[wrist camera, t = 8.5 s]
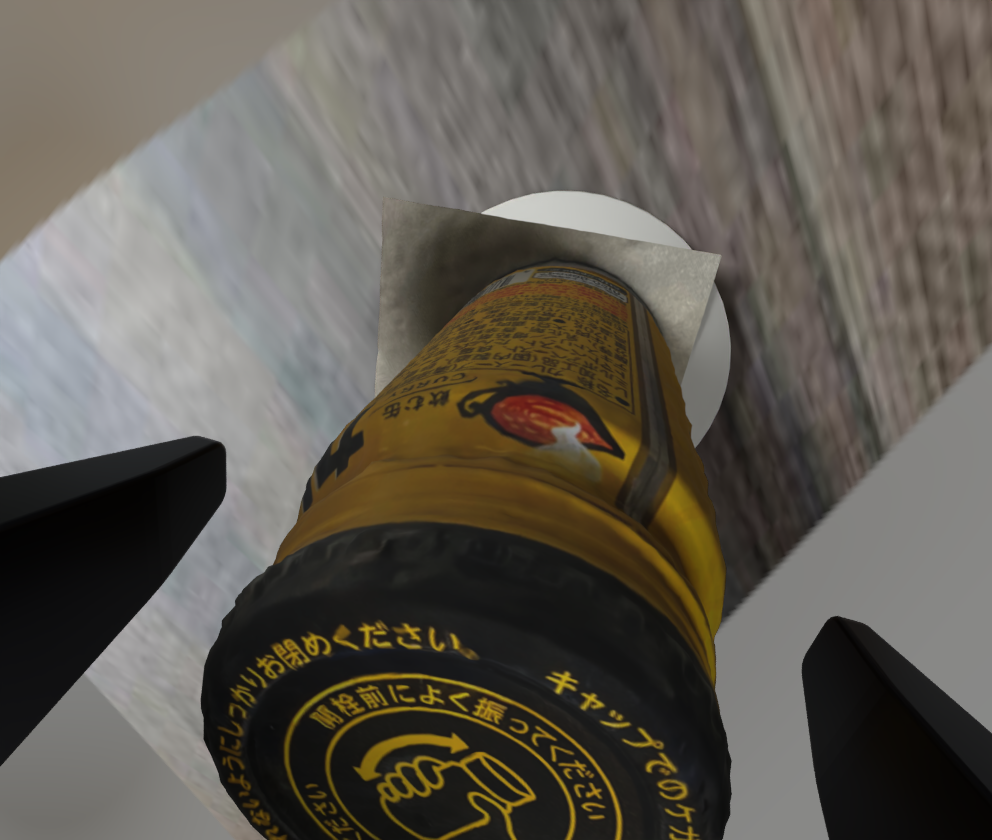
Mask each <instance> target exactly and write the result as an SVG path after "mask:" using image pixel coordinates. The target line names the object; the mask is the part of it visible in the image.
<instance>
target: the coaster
mask: <svg viewBox="0 0 992 840" xmlns="http://www.w3.org/2000/svg"><path fill="white" fill-rule="evenodd" d="M481 214H486V215H492V216H498V217H503V218H506V219H513V220H519V221H526V222H533V223H540V224H546V225H551V226H557V227H563V228H570V229H575V230H580V231H587V232H594V233H599V234H605V235H610V236H616V237H621V238H626V239H631V240H639V241H645V242H651V243H656V244H662V245H667V246H673V247H679V248H684V249H690V250H692V249H691V248H690V247H689V246H688V244H687V243H686V242H685V241H684V240H683V239H682V238H681V237H680V236H679V235H678V234H677V233H676V232H675V231H674V230H672V229H671V228H670V227H669V226H668V225H667V224H666V223H664V222H663V221H661V220H660V219H658V218H657V217H655V216H654V215H652V214H651V213H649V212H647V211H646V210H644V209H641V208H639V207H637V206H635V205H633V204H631V203H629V202H627V201H624V200H621V199H617V198H614V197H611V196H608V195H604V194H599V193H593V192H586V191H577V190H555V191H546V192H538V193H533V194H529V195H525V196H521V197H518V198H514V199H511V200H509V201H507V202H504V203H502V204H499V205H497V206H495V207H492V208H490V209H488V210H486V211H484V212H482V213H481ZM730 355H731V343H730V333H729V324H728V320H727V316H726V313H725V309H724V305H723V302H722V299H721V297H720V294H719V292H718V290H717V287H716V285H715V283H714V282H713V286H712V289H711V292H710V295H709V298H708V302H707V305H706V308H705V312H704V315H703V317H702V320H701V324H700V327H699V330H698V333H697V336H696V339H695V342H694V345H693V348H692V351H691V354H690V358H689V361H688V365H687V368H686V371H685V374H684V377H683V381H682V384H681V388H682V397H683V399H684V401H685V403H686V406H685V411H686V416H687V417H688V419H689V421H690V423H691V424H692V430H691V439H692V442H693V444H694V447H695V448H696V446H697V445H698V444H699V443H700V441H701V440H702V438H703V437H704V435H705V434H706V433H707V431H708V430H709V428H710V426H711V424H712V422H713V420H714V418H715V416H716V414H717V412H718V410H719V408H720V405H721V402H722V399H723V396H724V394H725V391H726V387H727V381H728V376H729V370H730Z"/></svg>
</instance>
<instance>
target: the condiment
mask: <svg viewBox="0 0 992 840" xmlns="http://www.w3.org/2000/svg"><path fill="white" fill-rule="evenodd" d="M382 237H383V241H382V262H381V280H380V314H379V328H378V349H379V353H378V357H377V366H376V379H375V399H374V400H373V401H371V402H370V403H369V404H368V405H367V406H366V407H365V408H364V409H363V410H362V411H361V412H360V413H359V414H358V416H357V417H356V418H355V419H354V420H352V421H351V422H350V423H348V424H347V425H346V426H345V428H344V429H343V430H342V432H341V433H340V434H339V436H338V437H337V438H336V439H335V440H334V441H333V442H332V443H331V444H330V445H329V447H328V449H327V450H326V452H325V454H324V455H323V457H322V458H321V460H320V461H319V463H318V464H317V465H316V466H315V468H314V471H313V474H312V476H311V477H310V478H309V480H308V482H307V484H306V491H305V493H304V495H303V498H302V501H301V505H300V510H299V515H298V519H297V523H296V524H295V526H294V527H293V528H292V530H291V531H290V532H289V533H288V534H287V536H286V537H285V539H284V540H283V542H282V544H281V545H280V548H279V550H278V553H277V556H276V560H275V562H274V564H273V565H272V566H269V567H268V568H267V569H266V571H265V572H264V573H262V574H261V575H259V576H257V577H256V578H255V579H254V580H253V581H251V582H250V583H249V584H248V585H247V586H246V587H245V588H244V589H243V591H242V592H241V593H240V594H239V595H238V597H237V599H236V600H235V607H234V608H233V609H232V610H231V611H230V612H229V613H228V614H227V615H226V616H225V618H224V619H223V620H222V628H221V630H220V633H219V636H218V638H217V640H216V642H215V643H214V645H213V646H212V648H211V649H210V651H209V654H208V657H207V660H206V663H205V666H204V675H203V684H202V694H201V710H202V714H203V717H204V741H205V743H206V746H207V748H208V750H209V752H210V754H211V756H212V758H213V761H214V763H215V766H216V768H217V770H218V773H219V777H220V782H221V783H222V785H223V786H224V788H225V789H226V791H227V793H228V795H229V796H230V797H231V798H232V800H233V801H234V802H235V804H236V805H237V807H238V808H239V810H240V811H241V812H242V813H243V815H244V816H245V817H246V818H247V820H248V821H249V823H250V824H251V825H252V826H253V827H254V828H255V829H256V830H257V831H258V832H259V833H260V834H261V835H262V836H263V837H264V838H266V839H267V840H722V839H723V835H724V829H725V826H726V823H727V821H728V819H729V816H730V800H731V795H732V793H731V783H730V769H731V758H730V754H729V751H728V743H727V737H726V732H725V730H724V727H723V723H722V719H721V716H720V709H719V704H718V700H717V696H716V692H715V684H716V655H715V644H714V637H715V635H716V633H717V631H718V629H719V626H720V623H721V618H722V608H723V600H724V594H725V583H726V565H725V561H724V557H723V554H722V551H721V546H720V541H719V535H718V531H717V527H716V512H715V509H714V506H713V504H712V501H711V500H710V498H709V497H708V480H707V478H706V476H705V474H704V466H703V463H702V460H701V459H700V457H699V455H698V454H697V452H696V450H695V447H694V444H693V442H692V439H691V430H692V424H691V423H690V421H689V419H688V417H687V416H686V411H685V406H686V403H685V401H684V399H683V397H682V388H681V384H682V381H683V377H684V374H685V371H686V368H687V365H688V361H689V358H690V354H691V351H692V348H693V345H694V342H695V339H696V336H697V333H698V330H699V327H700V324H701V320H702V317H703V315H704V312H705V308H706V305H707V302H708V298H709V295H710V292H711V289H712V286H713V282H714V279H715V276H716V273H717V269H718V266H719V262H720V259H721V256H722V255H718V254H713V253H707V252H701V251H695V250H690V249H684V248H679V247H673V246H667V245H662V244H656V243H651V242H645V241H639V240H631V239H626V238H621V237H616V236H610V235H605V234H599V233H594V232H587V231H580V230H575V229H570V228H563V227H557V226H551V225H546V224H540V223H533V222H526V221H519V220H513V219H506V218H503V217H498V216H492V215H486V214H481V213H475V212H469V211H464V210H460V209H452V208H446V207H439V206H432V205H425V204H419V203H414V202H409V201H403V200H397V199H391V198H386V197H383V215H382Z"/></svg>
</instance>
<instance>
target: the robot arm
mask: <svg viewBox="0 0 992 840" xmlns="http://www.w3.org/2000/svg"><path fill="white" fill-rule="evenodd" d="M225 493H226V449H225V446H224V445H223V444H222V443H221V442H219V441H215V440H212V439H208V438H205V437H201V436H191V437H187V438H182V439H177V440H172V441H168V442H163V443H158V444H154V445H149V446H144V447H140V448H135V449H130V450H126V451H121V452H116V453H112V454H107V455H102V456H97V457H93V458H88V459H83V460H79V461H74V462H69V463H65V464H60V465H55V466H51V467H46V468H41V469H37V470H32V471H27V472H22V473H18V474H13V475H8V476H4V477H0V766H1V765H2V764H3V763H4V762H5V761H6V760H7V758H8V757H9V756H10V755H11V754H12V753H13V752H14V751H15V749H16V748H17V747H18V746H19V745H20V744H21V743H22V742H23V740H24V739H25V738H26V737H27V736H28V735H29V734H30V733H31V732H32V730H33V729H34V728H35V727H36V726H37V725H38V724H39V723H40V721H41V720H42V719H43V718H44V717H45V716H46V715H47V714H48V713H49V711H50V710H51V709H52V708H53V707H54V706H55V705H56V704H57V702H58V701H59V700H60V699H61V698H62V696H64V694H65V693H66V692H67V691H68V690H69V689H70V688H71V687H72V686H73V685H74V683H75V682H76V681H77V680H78V679H79V678H80V677H81V676H82V674H83V673H84V672H85V671H86V670H87V669H88V668H89V667H90V665H91V664H92V663H93V662H94V661H95V660H96V659H97V658H98V657H99V655H100V654H101V653H102V652H103V651H104V650H105V649H106V648H107V646H108V645H109V644H110V643H111V642H112V641H113V640H114V639H115V637H116V636H117V635H118V634H119V633H120V632H121V631H122V630H123V629H124V627H125V626H126V625H127V624H128V623H129V622H130V621H131V620H132V618H133V617H134V616H135V615H136V614H137V613H138V612H139V611H140V609H141V608H142V607H143V606H144V605H145V604H146V603H147V602H148V600H149V599H150V598H151V597H152V596H153V595H154V594H155V592H156V591H157V590H158V589H159V588H160V587H161V585H162V584H163V583H164V582H165V580H166V579H167V578H168V576H169V575H170V574H171V573H172V571H173V570H174V569H175V567H176V566H177V564H178V563H179V562H180V560H181V559H182V557H183V556H184V555H185V553H186V552H187V551H188V549H189V548H190V546H191V545H192V544H193V542H194V541H195V539H196V538H197V537H198V535H199V534H200V533H201V531H202V530H203V528H204V527H205V526H206V524H207V523H208V521H209V520H210V519H211V517H212V516H213V515H214V513H215V512H216V510H217V509H218V508H219V506H220V505H221V503H222V501H223V499H224V497H225ZM802 680H803V687H804V695H805V702H806V711H807V719H808V726H809V734H810V742H811V750H812V758H813V765H814V771H815V778H816V784H817V788H818V793H819V798H820V803H821V807H822V811H823V815H824V819H825V824H826V828H827V832H828V837H829V840H992V733H991V732H990V731H988V730H987V729H986V728H985V727H984V726H983V725H982V724H980V723H979V722H978V721H977V720H976V719H975V718H973V717H972V716H971V715H970V714H969V713H968V712H967V711H965V710H964V709H963V708H962V707H961V706H960V705H958V704H957V703H956V702H955V701H954V700H953V699H952V698H950V697H949V696H948V695H947V694H946V693H945V692H944V691H942V690H941V689H940V688H939V687H938V686H936V684H934V683H933V682H932V681H931V680H930V679H928V678H927V677H926V676H925V675H924V674H923V673H922V672H920V671H919V670H918V669H917V668H916V667H915V666H914V665H912V664H911V663H910V662H909V661H908V660H907V659H905V658H904V657H903V656H902V655H901V654H900V653H899V652H897V651H896V650H895V649H894V648H893V647H891V645H889V644H888V643H887V642H886V641H885V640H884V639H882V638H881V637H880V636H879V635H878V634H876V632H874V631H873V630H872V629H871V628H870V627H869V626H867V625H865V624H863V623H861V622H857V621H854V620H850V619H846V618H842V617H839V616H835V617H831V618H830V619H828V620H827V622H826V623H825V624H824V626H823V627H822V629H821V630H820V632H819V634H818V635H817V637H816V638H815V640H814V642H813V643H812V645H811V646H810V648H809V650H808V651H807V653H806V655H805V657H804V659H803V663H802Z"/></svg>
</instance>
